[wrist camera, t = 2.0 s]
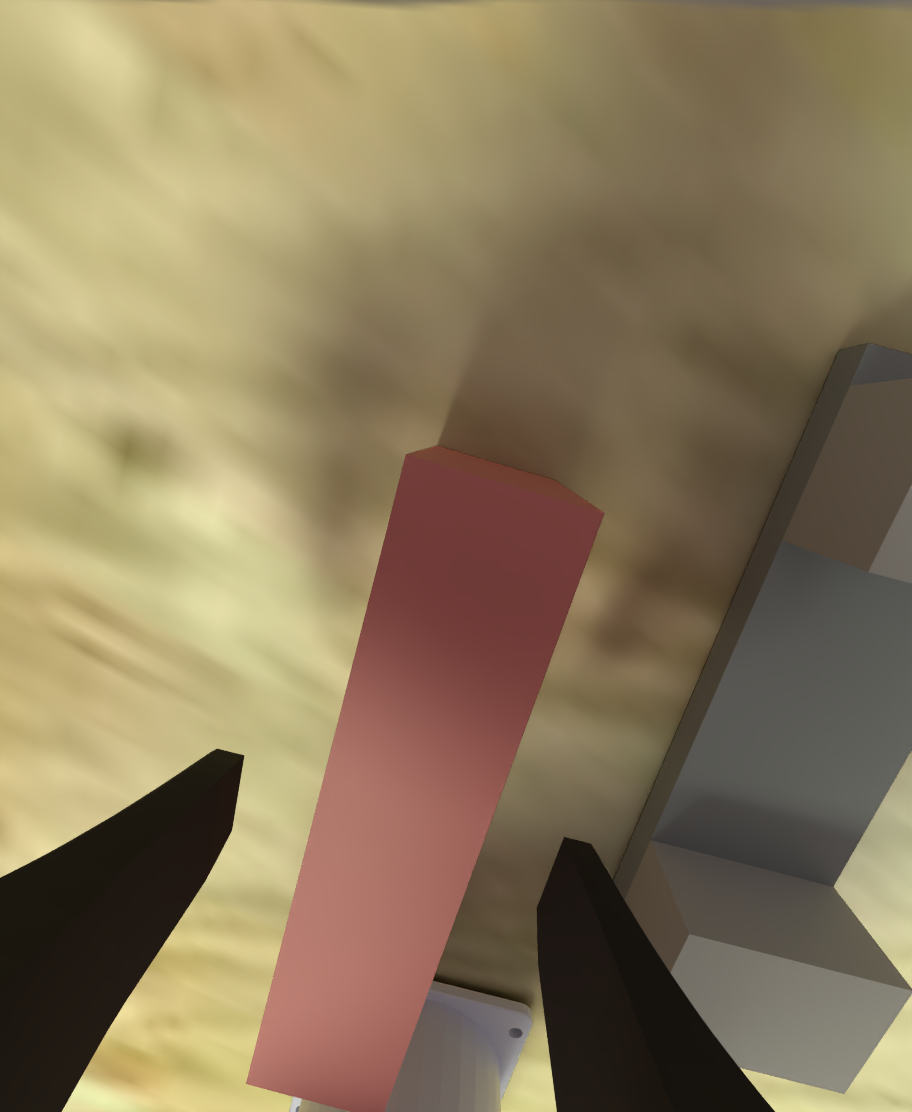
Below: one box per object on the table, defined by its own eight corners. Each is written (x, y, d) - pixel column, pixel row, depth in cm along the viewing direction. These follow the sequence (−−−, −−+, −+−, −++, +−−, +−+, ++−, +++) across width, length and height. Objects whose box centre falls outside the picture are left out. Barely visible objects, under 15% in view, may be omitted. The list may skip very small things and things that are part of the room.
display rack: (753, 967, 18) (828, 1117, 14) (593, 927, 18) (624, 1065, 14) (1060, 409, 13) (1311, 399, 9) (838, 349, 13) (995, 313, 9)
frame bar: (413, 899, 18) (381, 1119, 12) (322, 874, 18) (246, 1083, 12) (554, 479, 14) (604, 512, 8) (437, 445, 14) (406, 454, 8)
